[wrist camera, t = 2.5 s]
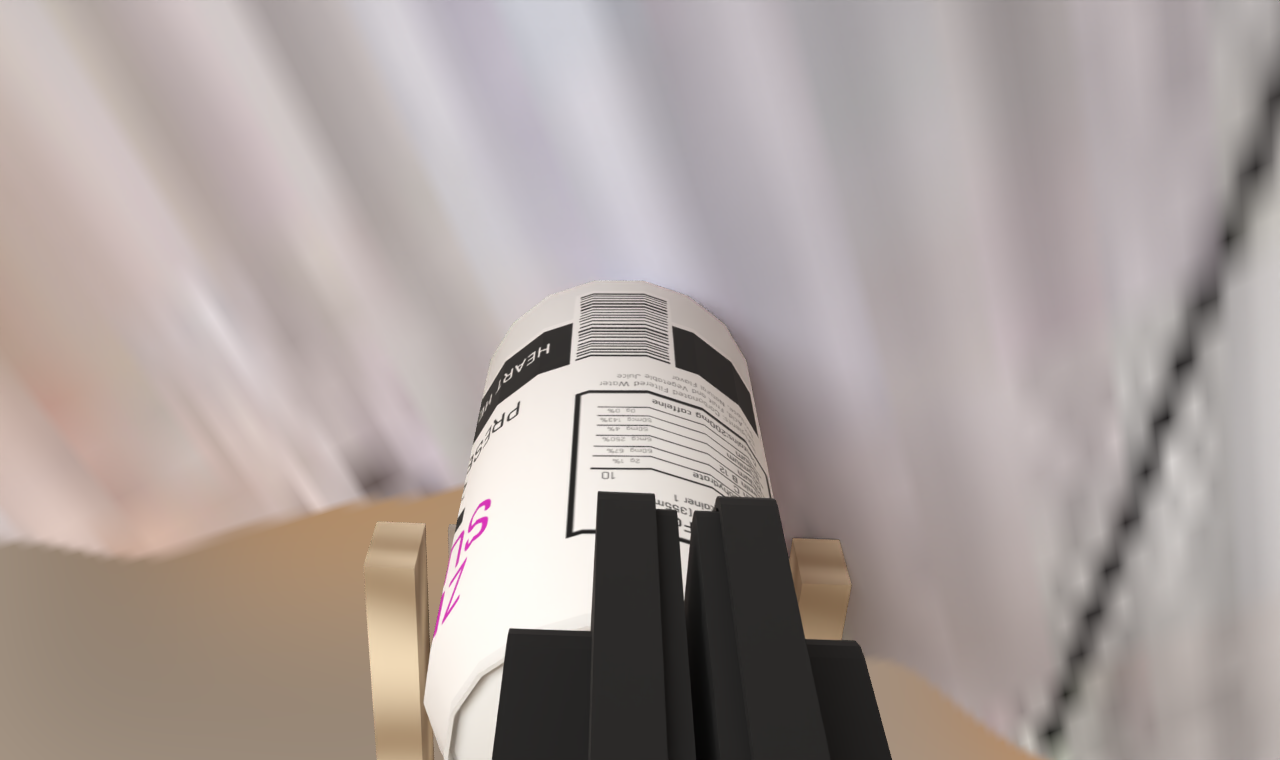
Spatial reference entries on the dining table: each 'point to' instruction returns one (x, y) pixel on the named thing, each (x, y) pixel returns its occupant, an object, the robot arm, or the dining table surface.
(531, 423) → the supplement can
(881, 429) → the dining table surface
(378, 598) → the rail cradle
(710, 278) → the dining table surface
